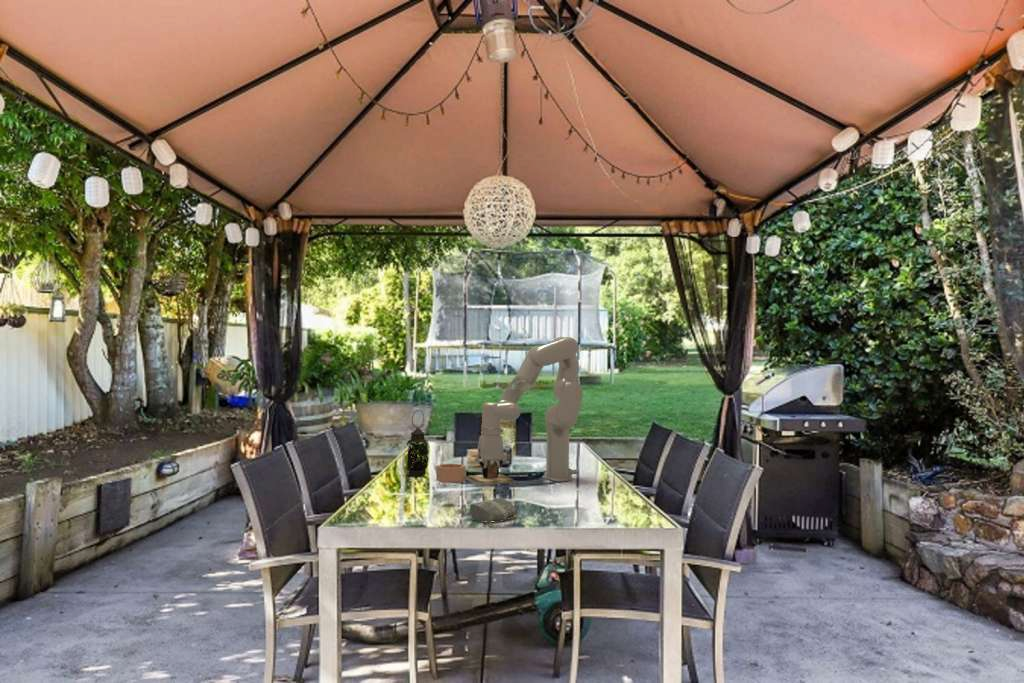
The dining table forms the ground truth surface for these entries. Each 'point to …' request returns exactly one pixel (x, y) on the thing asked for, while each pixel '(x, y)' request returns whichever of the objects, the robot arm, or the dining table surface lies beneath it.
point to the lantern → (417, 453)
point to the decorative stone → (492, 510)
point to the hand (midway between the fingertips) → (490, 476)
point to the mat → (488, 483)
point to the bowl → (451, 473)
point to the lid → (490, 476)
